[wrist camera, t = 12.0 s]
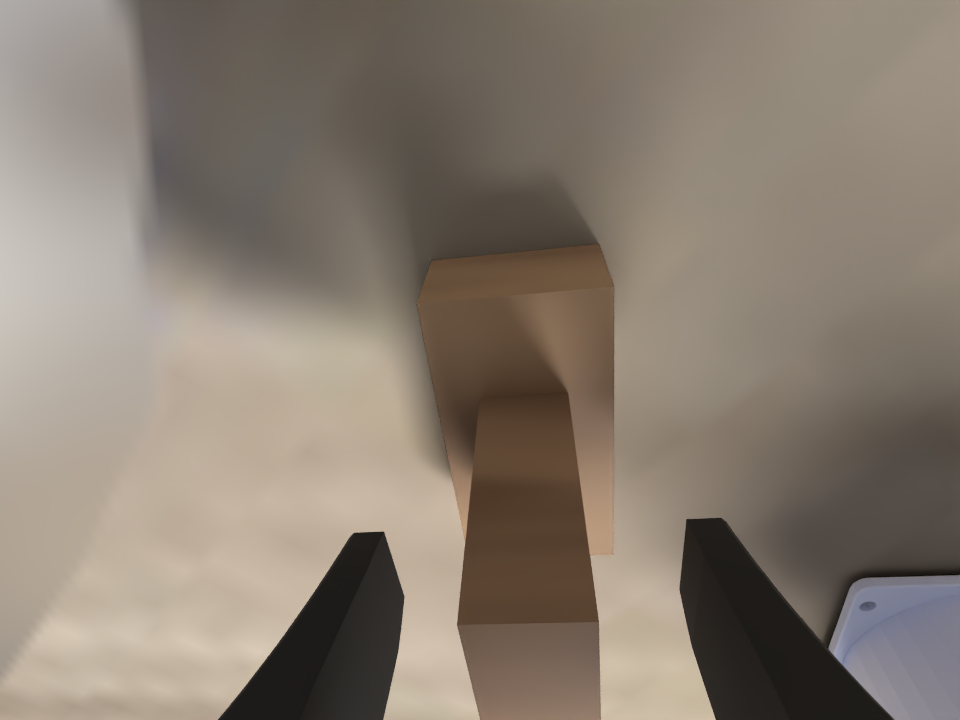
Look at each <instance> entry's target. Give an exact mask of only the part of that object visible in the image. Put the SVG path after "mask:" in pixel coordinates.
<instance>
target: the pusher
mask: <svg viewBox="0 0 960 720" xmlns="http://www.w3.org/2000/svg"><path fill="white" fill-rule="evenodd" d="M416 305H417V309H418V314H419V319H420V324H421V329H422V334H423V339H424V344H425V348H426V353H427V358H428V363H429V368H430V373H431V378H432V383H433V387H434V392H435V397H436V402H437V407H438V412H439V417H440V422H441V426H442V431H443V436H444V441H445V446H446V451H447V456H448V461H449V465H450V470H451V475H452V480H453V485H454V490H455V495H456V500H457V504H458V509H459V514H460V519H461V524H462V529H463V534H464V539H465V551H464V561H463V571H462V581H461V591H460V601H459V611H458V622H457V626H458V630H459V634H460V639H461V643H462V647H463V651H464V655H465V659H466V663H467V667H468V671H469V675H470V679H471V684H472V688H473V692H474V696H475V700H476V704H477V708H478V712H479V716H480V720H601V703H600V655H599V620H598V612H597V605H596V597H595V590H594V582H593V575H592V567H591V560H590V555H610V554H614V285H613V282H612V279H611V276H610V273H609V271H608V268H607V265H606V262H605V259H604V256H603V254H602V251H601V248H600V245H599V244H594V245H583V246H573V247H563V248H553V249H542V250H532V251H522V252H512V253H502V254H491V255H481V256H471V257H461V258H450V259H440V260H432V261H431V264H430V267H429V269H428V272H427V275H426V278H425V281H424V284H423V287H422V289H421V292H420V295H419V298H418V301H417V304H416Z"/></svg>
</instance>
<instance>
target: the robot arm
mask: <svg viewBox="0 0 960 720" xmlns="http://www.w3.org/2000/svg"><path fill="white" fill-rule="evenodd" d="M680 594H681V599H682V603H683V608H684V613H685V618H686V622H687V627H688V631H689V635H690V640H691V644H692V648H693V651H694V654H695V657H696V660H697V664H698V667H699V670H700V673H701V676H702V679H703V682H704V685H705V688H706V691H707V694H708V697H709V700H710V703H711V706H712V709H713V712H714V715H715V718H716V720H960V575H947V576H912V577H876V578H863V579H860V580H857V581H856V582H854V583H853V584H852V586H851V587H850V589H849V592H848V595H847V597H846V600H845V603H844V606H843V609H842V611H841V614H840V617H839V620H838V623H837V626H836V628H835V631H834V634H833V637H832V640H831V642H830V645H829V648H827V647H826V646H825V645H824V644H823V643H822V642H821V640H820V639H819V638H818V637H817V636H816V635H815V634H814V632H813V631H812V630H811V629H810V628H809V627H808V625H807V624H806V623H805V622H804V621H803V619H802V618H801V617H800V616H799V615H798V614H797V612H796V611H795V610H794V609H793V608H792V607H791V605H790V604H789V603H788V602H787V601H786V599H785V598H784V597H783V596H782V594H781V593H780V592H779V591H778V590H777V588H776V587H775V586H774V585H773V583H772V582H771V581H770V580H769V578H768V577H767V576H766V574H765V573H764V572H763V571H762V569H761V568H760V567H759V566H758V564H757V563H756V562H755V560H754V559H753V558H752V556H751V555H750V554H749V552H748V551H747V550H746V548H745V547H744V546H743V544H742V543H741V542H740V540H739V539H738V538H737V536H736V535H735V533H734V532H733V531H732V529H731V528H730V526H729V525H728V524H727V522H726V521H724V520H723V519H722V518H708V519H687V521H686V531H685V541H684V551H683V560H682V570H681V580H680ZM403 605H404V594H403V591H402V588H401V584H400V581H399V578H398V575H397V572H396V569H395V565H394V562H393V559H392V556H391V553H390V549H389V546H388V543H387V540H386V537H385V534H384V532H364V533H354V534H353V535H352V536H351V537H350V538H349V539H348V541H347V543H346V544H345V546H344V547H343V549H342V550H341V552H340V554H339V555H338V557H337V558H336V560H335V561H334V563H333V564H332V566H331V567H330V569H329V571H328V572H327V574H326V575H325V577H324V578H323V580H322V581H321V583H320V584H319V586H318V587H317V589H316V590H315V592H314V593H313V595H312V596H311V598H310V599H309V601H308V602H307V603H306V605H305V606H304V608H303V609H302V611H301V612H300V613H299V615H298V616H297V618H296V619H295V620H294V622H293V623H292V625H291V626H290V628H289V629H288V630H287V632H286V633H285V635H284V636H283V637H282V639H281V640H280V642H279V643H278V644H277V646H276V647H275V648H274V650H273V651H272V652H271V654H270V655H269V656H268V657H267V659H266V660H265V661H264V663H263V664H262V665H261V667H260V668H259V669H258V670H257V672H256V673H255V674H254V676H253V677H252V678H251V680H250V681H249V682H248V684H247V685H246V686H245V687H244V689H243V690H242V691H241V692H240V694H239V695H238V696H237V697H236V699H235V700H234V701H233V702H232V703H231V705H230V706H229V707H228V708H227V709H226V711H225V712H224V713H223V714H222V715H221V717H220V718H219V719H218V720H383V717H384V713H385V709H386V704H387V700H388V695H389V691H390V686H391V682H392V677H393V673H394V668H395V664H396V659H397V654H398V649H399V641H400V633H401V624H402V615H403Z"/></svg>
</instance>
